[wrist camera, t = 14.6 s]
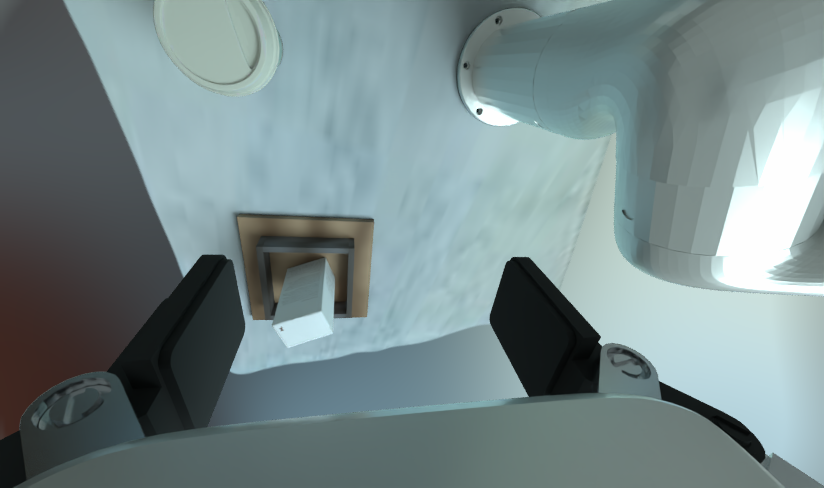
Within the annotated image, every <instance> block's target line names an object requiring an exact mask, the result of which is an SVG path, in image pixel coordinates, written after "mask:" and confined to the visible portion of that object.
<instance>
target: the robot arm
mask: <svg viewBox="0 0 824 488" xmlns="http://www.w3.org/2000/svg"><path fill="white" fill-rule="evenodd" d="M495 19H497V21H498V22H497V24H496V23H495ZM464 63H466V67H465V68H464V67H463V65H464ZM457 81H458V89H459V93H460V96H461V99H462V101H463V103H464V105H465V107H466V108H467V110H468V111H469V112H470V113H471V115H473V116H474V117H475V118H476V119H478V120H479V121H481V122H483V123H486V124H489V125H491V126H499V127H501V126H509V125H513V124H516V123H518V122H523V123H526V124H529V125H532V126H535V127H538V128H541V129H544V130H547V131H550V132H553V133H556V134H560V135H563V136H566V137H569V138H574V139H582V140H588V139H596V138H600V137H605V136H608V135H611V134H613V133H615V132H616V161H617V163H616V164H617V165H616V184H615V204H614V233H615V239H616V243H617V245H618V248H619V250H620V252H621V254H622V255H623V257H624V258H626V260H627V261H628V262H629V263H630V264H632V265H633V266H634V267H636V268H637V269H639V270H641V271H642V272H644V273H646V274H648V275H650V276H653V277H655V278H658V279H661V280H664V281H667V282H671V283H675V284H679V285H684V286H689V287H696V288H702V289H710V290H718V291H731V292H748V293H764V294H766V293H767V294H784V295H804V296H823V297H824V0H611V1H607V2H603V3H599V4H595V5H591V6H588V7H583V8H579V9H575V10H571V11H567V12H563V13H558V14H554V15H550V16H546V17H541V16H539V15H538V14H536V13H535V12H533V11H530V10H528V9H525V8H510V9H505V10H502V11H499V12H496V13H494V14H493V15H491V16H489V17H487V18H486V19H485V20H484V21H482V22H481V23H480V24H479V25H478V26H477V27H476V28H475V30H474V31H473V32H472V33H471V34H470V36H469V38H468V40H467V41H466V43H465V45H464V47H463V50H462V53H461V55H460V60H459V64H458V74H457ZM477 109H479V111H478V112H477V113H476V110H477ZM490 324H491V326H492V328H493V330H494V332H495V334H496V336H497V337H498V339H499V341H500V343H501V345H502V347H503V349H504V351H505V353H506V355H507V356H508V358H509V360H510V362H511V364H512V366H513V368H514V370H515V372H516V373H517V375H518V377H519V379H520V381H521V383H522V385H523V387H524V389H525V390H526V392H527V394H528V396H529V397H525V398H524V397H523V398H512V399H499V400H489V401H488V400H487V401H476V402H464V403H453V404H441V405H431V406H419V407H408V408H397V409H386V410H376V411H364V412H353V413H343V414H332V415H322V416H311V417H301V418H291V419H280V420H270V421H260V422H251V423H242V424H233V425H225V426H215V427H207V426H208V424H209V421H210V418H211V416H212V413H213V411H214V408H215V406H216V403H217V401H218V398H219V396H220V393H221V391H222V388H223V386H224V383H225V380H226V378H227V376H228V373H229V371H230V368H231V366H232V363H233V361H234V358H235V356H236V353H237V351H238V348H239V346H240V343H241V341H242V338H243V335H244V332H245V321H244V316H243V311H242V306H241V301H240V296H239V291H238V286H237V281H236V276H235V271H234V266H233V262H232V260H230V259H226V257H225V256H224V255H202V256H201V257H200V258H199V259H198V260H197V262H196V263H195V264H194V266H193V267H192V268H191V269H190V271H189V272H188V273H187V275H186V276H185V277H184V278H183V280H182V281H181V283H179V285H178V286H177V287H176V289H175V290H174V291H173V292H172V294H171V295H170V296H169V298H167V299H165V300H164V301H163V302H162V303H161V304H160V305H159V307H158V308H157V309H156V310H155V311H154V313H153V314H152V315H151V317H150V318H149V319H148V320H147V322H146V323H145V324H144V325H143V327H142V328H141V329H140V330H139V332H138V333H137V334H136V335H135V337H134V338H133V339H132V341H131V342H130V343H129V344H128V346H127V347H126V348H125V349H124V351H123V352H122V353H121V354H120V356H119V357H118V358H117V359H116V361H115V362H114V363H113V364H112V366H111V367H110V368H109V370H108V371H107V372H93V373H87V374H82V375H79V376H77V377H74V378H71V379H69V380H66V381H64V382H62V383H60V384H58V385H56V386H54V387H52V388H51V389H50V390H48V391H47V392H45V393H44V394H42V395H41V396H39V397H38V398H37V399H36V400H35V401H34V402H33V403H32V404H31V405H30V406H29V407H28V408H27V410H26V411H25V413H24V414H23V416H22V417H21V421H20V427H19V428H20V430H19V431H17V432H15V433H13V434H11V435H10V436H8V437H6V438H4V439H2V440H0V488H824V486H823V485H821V484H820V483H818V482H817V481H815V480H814V479H812V478H811V477H809V476H808V475H806V474H805V473H803V472H802V471H800V470H799V469H797V468H796V467H794V466H792V465H791V464H789V463H788V462H786V461H785V460H783V459H782V458H780V457H779V456H777V455H776V454H774V453H772V454H771V455H769V456H767V455H766V454H765V451H764V448H763V446H762V445H761V443H760V442H759V440H758V439H757V438H756V437H755V435H754V434H753V433H752V432H750V431H749V429H748V428H746V426H745V425H743V424H742V423H741V422H740V421H738V420H737V419H735V418H733V417H731V416H729V415H728V414H725V413H724V412H722V411H720V410H718V409H716V408H713V407H712V406H709V405H707V404H705V403H703V402H701V401H699V400H697V399H695V398H693V397H691V396H689V395H687V394H685V393H683V392H680V391H678V390H676V389H674V388H672V387H670V386H668V385H666V384H664V383H662V382H660V381H659V380H658V374H657V372H656V369H655V368H654V366H653V365H652V364H651V362H650V361H648V360H647V359H646V358H645V357H644V356H643V355H641V354H640V353H638V352H637V351H635V350H633V349H631V348H629V347H627V346H624V345H621V344H615V343H610V344H605V345H604V346H603V347H602V346H601V345H600V344H599V343H598V341H599V340H600V338H601V336H600V335H599V334H598V333H597V332H596V331H595V330H594V329H593V327H592V326H591V325H590V324H589V323H588V322H587V321H586V320H585V319H584V317H583V316H582V315H581V314H580V313H579V312H578V311H577V310H576V309H575V307H574V306H573V305H572V304H571V303H570V302H569V301H568V300H567V299H566V298H565V296H564V295H563V294H562V293H561V292H560V291H559V290H558V289H557V288H556V286H555V285H554V284H553V283H552V282H551V281H550V280H549V279H548V278H547V277H546V275H545V274H544V273H543V272H542V271H541V270H540V269H539V268H538V267H537V266H536V264H535V263H534V262H533V261H532V260H531V259H530V258H529V257H513V258H511V260H510V261H507V263H506V265H505V268H504V271H503V274H502V278H501V281H500V284H499V287H498V291H497V294H496V297H495V300H494V304H493V307H492V310H491V313H490Z"/></svg>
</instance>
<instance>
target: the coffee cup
mask: <svg viewBox="0 0 824 488" xmlns="http://www.w3.org/2000/svg"><path fill="white" fill-rule="evenodd" d="M153 17H154V24H155V29H156V32H157V35H158V38H159V40H160V43H161V45H162V47H163V48H164V50H165V52H166V53H167V55H168V56H169V58H170V59H171V60H172V62H173V63H174V64H175V65H176V66H177V67H178V68H179V69H180V71H181V72H182V73H183V74H185V75H186V76H187V77H188V78H189V79H190V80H192V81H193V82H195V83H196V84H198V85H199V86H201V87H203V88H205V89H207V90H209V91H211V92H214V93H217V94H221V95H225V96H233V97H238V96H246V95H250V94H253V93H255V92H257V91H259V90H260V89H262V88H263V87H264V86H265V85H267V83H268V82H269V81H270V80H271V78H272V77H273V75H274V73H275V71H276V68H277V67H278V66H279V64H280V62H281V60H282V56H283V44H282V40H281V37H280V35H279V32H278V31H277V29H276V27H275V24H274V21H273V19H272V17H271V15H270V13H269V11H268V9H267V7H266V6H265V4H264V3H263V1H262V0H155V1H154V7H153Z"/></svg>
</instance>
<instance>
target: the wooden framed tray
mask: <svg viewBox="0 0 824 488" xmlns="http://www.w3.org/2000/svg"><path fill="white" fill-rule="evenodd" d="M237 220H238V227H239V233H240V240H241V246H242V252H243V259H244V265H245V271H246V278H247V284H248V291H249V297H250V303H251V310H252V316H253V320H274V316H275V313H276V309H277V305H278V302H279V298H280V294H281V290H282V287H283V283H284V279H285V276H286V272H287V269H288V268H291V267H295V266H298V265H301V264H305V263H308V262H311V261H314V260H318V259H321V258H324V257H325V258H326V259H327V261H328V264H329V266H330V268H331V270H332V272H333V274H334V276H335V292H334V318H352V317H367V309H368V296H369V283H370V269H371V256H372V243H373V229H374V219H349V218H325V217H300V216H275V215H251V214H239V215H238V216H237Z"/></svg>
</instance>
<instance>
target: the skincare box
mask: <svg viewBox="0 0 824 488" xmlns="http://www.w3.org/2000/svg"><path fill="white" fill-rule="evenodd" d="M334 292H335V276H334V274H333V272H332V270H331V268H330V266H329V264H328V261H327V259H326V258H325V257H324V258H321V259H318V260H314V261H311V262H308V263H305V264H301V265H298V266H295V267H291V268H288V269H287V272H286V276H285V279H284V283H283V287H282V290H281V294H280V298H279V302H278V305H277V309H276V313H275V316H274V320H273V323H272V327H273V328H274V330H275V331H276V332H277V334H278V335H279V337H280V338H281V339H282V341H283V342H284V344H285V345H286V346H287V348H290V347H293V346H296V345H299V344H302V343H305V342H308V341H311V340H315V339H318V338H321V337H324V336H327V335H330V334H333V320H334Z"/></svg>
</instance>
